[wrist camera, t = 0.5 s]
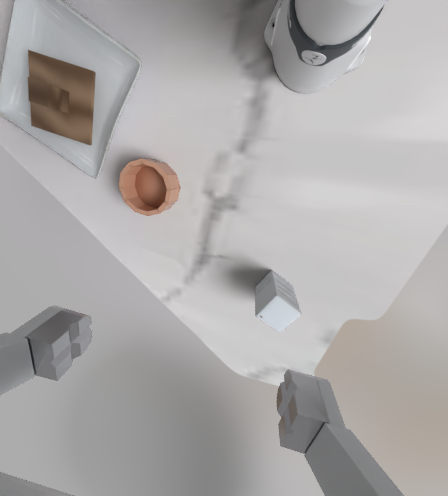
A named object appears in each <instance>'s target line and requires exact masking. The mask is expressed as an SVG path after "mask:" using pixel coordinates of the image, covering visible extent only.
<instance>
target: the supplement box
mask: <svg viewBox="0 0 448 496" xmlns="http://www.w3.org/2000/svg"><path fill="white" fill-rule="evenodd" d="M300 315H301V311H300V307H299V304H298V301H297V298H296V295H295V292H294V289H293V286H292V285H291V284H290V283H289V282H287V281H286V280H285V279H283V278H282V277H281V276H279V275H278V274H277V273H275V272H274V271H273V270H271V271H270V272H269V273H268V274H267V275H266V276H265V277H264V278H263V280H262V281H261V282H260V283H259V284H258V285H257V286H256V287H255V316H256V317H258V318H259V319H261V320H262V321H263V322H265V323H266V324H268V325H269V326H271V327H272V328H273V329H275V330H276V331H278V332H279V333H281V332H282V331H283V330H284V329H285V328H286V327H287V326H289V325H290V324H291V323H292V322H293V321H294V320H295V319H297V318H298V317H299V316H300Z"/></svg>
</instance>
